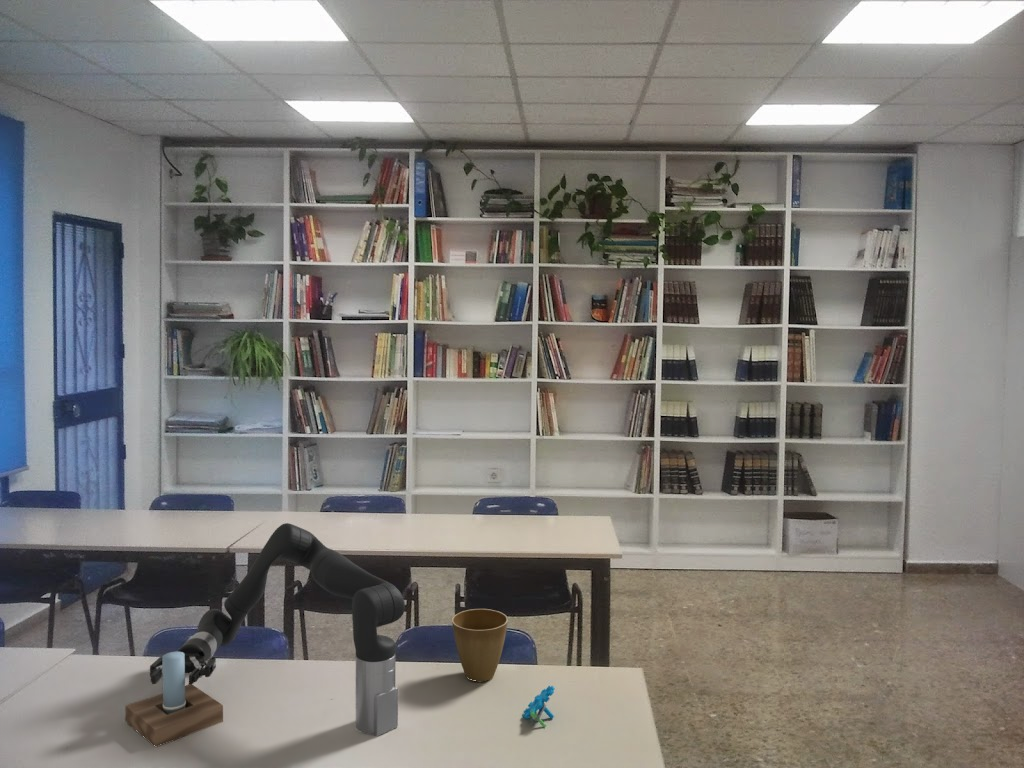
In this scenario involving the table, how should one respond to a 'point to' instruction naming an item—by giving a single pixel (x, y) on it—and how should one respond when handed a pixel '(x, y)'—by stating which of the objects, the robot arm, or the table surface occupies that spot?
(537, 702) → the blue green construction toy
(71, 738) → the table surface
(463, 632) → the plant pot
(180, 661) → the peg
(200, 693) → the socket block
